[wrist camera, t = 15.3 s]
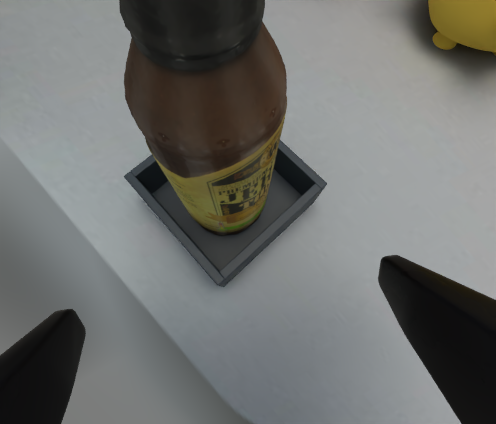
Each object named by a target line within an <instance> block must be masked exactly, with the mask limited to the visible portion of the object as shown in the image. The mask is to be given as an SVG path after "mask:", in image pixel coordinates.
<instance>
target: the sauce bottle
mask: <svg viewBox="0 0 496 424" xmlns="http://www.w3.org/2000/svg"><path fill="white" fill-rule="evenodd" d="M119 1H120V13H121V16H122V18H123V20H124V23H125V27H126V28H127V29H128V30H129V31H130V33H131V37H132V39H131V43H130V49H129V52H128V58H127V62H126V70H125V74H124V86H125V98H126V101H127V104H128V107H129V109H130V111H131V114H132V116H133V118H134V119H135V121H136V123H137V125H138V127H139V129H140V130H141V131H142V133H143V135H144V136H145V139H146V143H147V145H148V148H149V150H150V152H151V153H152V155H153V156H154V158H155V160H156V161H157V163H158V164H159V166H160V168H161V169H162V171H163V172H164V174H165V176H166V177H167V179H168V180H169V182H170V183H171V185H172V187H173V188H174V190H175V192H176V193H177V195H178V197H179V198H180V200H181V201H182V203H183V204H184V206H185V208H186V209H187V211H188V213H189V214H190V215H191V217H192V218H193V219H194V220H195V221H196V222H197V223H198V224H199V225H200V226H201V227H202V228H204V229H205V230H206V231H208V232H212V233H214V234H216V235H229V234H238V233H240V232H242V231H243V230H245V229H247V228H248V227H249V226H250V225H252V224H253V223H254V222H255V221H256V220H257V219H258V218H259V216H260V214H261V212H262V210H263V208H264V206H265V203H266V198H267V194H268V190H269V185H270V181H271V177H272V172H273V168H274V164H275V159H276V154H277V149H278V145H279V140H280V136H281V132H282V128H283V123H284V119H285V113H286V108H287V96H286V89H287V87H286V70H285V65H284V63H283V60H282V57H281V55H280V52H279V50H278V48H277V46H276V44H275V42H274V40H273V38H272V37H271V35H270V33H269V32H268V30H267V29H266V27H265V25H264V23H263V22H262V18H263V14H264V8H265V0H119Z"/></svg>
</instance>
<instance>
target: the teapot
mask: <svg viewBox="0 0 496 424" xmlns="http://www.w3.org/2000/svg"><path fill="white" fill-rule="evenodd" d="M428 4H429V14H430V18H431V21H432V23H433V25H434V27H435V28H436V29H437V30H438V32H437V33H435V34H434V36H433V42H434V44H435V45H436V46H437V47H439V48H441V49H445V50H449V49H452V48H454V47H455V46H456V44H457V43H460V44H462V45H465V46H468V47H471V48H475V49H479V50H484V51H491V52H493V54H494V55H496V0H428Z"/></svg>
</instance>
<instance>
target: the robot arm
mask: <svg viewBox="0 0 496 424" xmlns="http://www.w3.org/2000/svg"><path fill="white" fill-rule="evenodd" d="M378 281H379V285H380V287H381V289H382V291H383V293H384V295H385V297H386V299H387V301H388V303H389V305H390V307H391V309H392V311H393V313H394V315H395V317H396V319H397V321H398V323H399V325H400V327H401V328H402V330H403V332H404V334H405V335H406V337H407V339H408V340H409V342H410V344H411V345H412V347H413V348H414V350H415V351H416V353H417V355H418V356H419V358H420V359H421V361H422V362H423V364H424V366H425V367H426V369H427V370H428V372H429V373H430V375H431V377H432V378H433V380H434V381H435V383H436V384H437V386H438V387H439V389H440V391H441V392H442V394H443V395H444V397H445V398H446V400H447V402H448V403H449V405H450V406H451V408H452V409H453V411H454V413H455V414H456V416H457V417H458V419H459V420H460V422H461V424H496V300H494V299H492V298H490V297H488V296H486V295H484V294H481V293H479V292H477V291H475V290H473V289H470V288H468V287H466V286H464V285H462V284H459V283H457V282H455V281H453V280H451V279H449V278H446V277H444V276H442V275H440V274H438V273H435V272H433V271H431V270H429V269H427V268H424V267H422V266H420V265H418V264H416V263H414V262H411V261H409V260H407V259H405V258H403V257H400V256H398V255H391V256H385V257H383V258H382V259H381V263H380V269H379V276H378ZM85 334H86V333H85V327H84V325H83V324H82V322H81V320H80V319H79V317H78V315H77V314H76V312H75V311H74V310H73V309H66V310H60V311H56V312H54V313H53V314H52V315H50V316H49V317H48V318H47V319H45V320H44V321H43V322H42V323H40V324H39V325H38V326H37V327H35V328H34V329H33V330H32V331H30V332H29V333H28V334H27V335H25V336H24V337H23V338H21V339H20V340H19V341H18V342H16V343H15V344H14V345H13V346H11V347H10V348H9V349H8V350H6V351H5V352H4V353H3V354H1V355H0V424H61V422H62V420H63V417H64V413H65V411H66V408H67V405H68V402H69V399H70V396H71V393H72V388H73V385H74V381H75V377H76V373H77V369H78V365H79V361H80V356H81V351H82V348H83V344H84V340H85Z"/></svg>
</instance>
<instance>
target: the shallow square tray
mask: <svg viewBox="0 0 496 424" xmlns="http://www.w3.org/2000/svg"><path fill="white" fill-rule="evenodd" d="M124 178H125V179H126V180H127V181H128V182H129V183H130V184H131V186H132V187H133V188H134V189H135V190H136V191H137V193H138V194H139V195H140V196H141V197H142V198H143V200H144V201H145V202H146V203H147V204H148V205H149V206H150V208H151V209H152V210H153V211H154V212H155V213H156V215H157V216H158V217H159V218H160V219H161V220H162V222H163V223H164V224H165V225H166V226H167V227H168V228H169V230H170V231H171V232H172V233H173V234H174V235H175V237H176V238H177V239H178V240H179V241H180V242H181V244H182V245H183V246H184V247H185V248H186V249H187V250H188V252H189V253H190V254H191V255H192V256H193V257H194V259H195V260H196V261H197V262H198V263H199V264H200V266H201V267H202V268H203V269H204V270H205V271H206V272H207V274H208V275H209V276H210V277H211V278H212V279H213V281H214V282H215V283H216V284H217V285H219V286H223V287H224V286H225V285H226V284H227V283H228V282H229V281H230V280H231V279H233V278H234V277H235V276H236V275H237V274H238V273H239V272H240V271H241V270H242V269H243V268H244V267H245V266H246V265H247V264H249V263H250V262H251V261H252V260H253V259H254V258H255V257H256V256H257V255H258V254H259V253H260V252H261V251H262V250H263V249H265V248H266V247H267V246H268V245H269V244H270V243H271V242H272V241H273V240H274V239H275V238H276V237H277V236H278V235H279V234H281V233H282V232H283V231H284V230H285V229H286V228H287V227H288V226H289V225H290V224H291V223H292V222H293V221H294V220H295V219H297V218H298V217H299V216H300V215H301V214H302V213H303V212H304V211H305V210H306V209H307V208H308V207H309V206H310V205H311V204H313V203H314V201H315V200H316V199H317V197H318V196H319V194H320V193H321V192H322V190H323V189H324V188H325V186H326V185H327V183H326V182H325V181H324V180H323V179H322V178H321V177H320V176H319V175H317V174H316V173H315V172H314V171H313V170H312V169H311V168H310V167H309V166H308V165H307V164H306V163H304V162H303V161H302V160H301V159H300V158H299V157H298V156H297V155H296V154H295V153H294V152H293V151H291V150H290V149H289V148H288V147H287V146H286V145H285V144H284V143H283V142H282V141H281V140H279V145H278V149H277V154H276V159H275V164H274V168H273V172H272V177H271V181H270V185H269V190H268V194H267V198H266V203H265V206H264V208H263V210H262V212H261V214H260V216H259V218H258V219H257V220H256V221H255V222H254V223H253V224H252V225H250V226H249V227H248V228H247V229H245V230H243V231H242V232H240V233H238V234H229V235H216V234H214V233H212V232H208V231H206V230H205V229H204V228H202V227H201V226H200V225H199V224H198V223H197V222H196V221H195V220H194V219H193V218H192V217H191V215H190V214H189V213H188V211H187V209H186V208H185V206H184V204H183V203H182V201H181V200H180V198H179V197H178V195H177V193H176V192H175V190H174V188H173V187H172V185H171V183H170V182H169V180H168V179H167V177H166V176H165V174H164V172H163V171H162V169H161V168H160V166H159V164H158V163H157V161H156V160H155V158H154V156H153V155H151V156H149V157H148V158H147V159H146V160H144V161H143V162H142V163H140V164H139V165H138V166H136V167H135V168H134V169H132V170H131V172H129V173H127V174H126V175H125V176H124Z"/></svg>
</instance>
